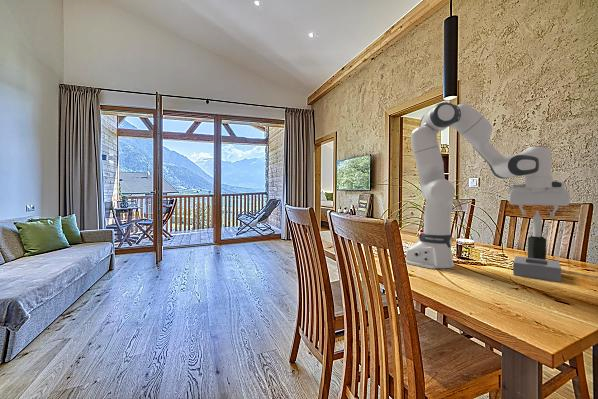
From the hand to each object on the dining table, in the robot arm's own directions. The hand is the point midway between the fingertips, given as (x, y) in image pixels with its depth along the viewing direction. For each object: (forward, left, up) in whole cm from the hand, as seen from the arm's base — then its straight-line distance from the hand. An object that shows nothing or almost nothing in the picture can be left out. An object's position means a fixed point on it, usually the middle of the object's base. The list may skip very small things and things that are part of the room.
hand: (537, 215), depth 124 cm
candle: (0, 0, -23) cm, 23 cm away
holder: (0, -14, -23) cm, 27 cm away
